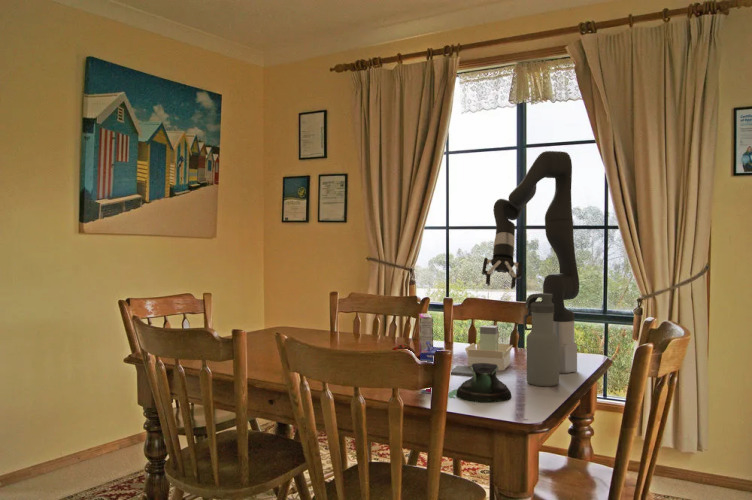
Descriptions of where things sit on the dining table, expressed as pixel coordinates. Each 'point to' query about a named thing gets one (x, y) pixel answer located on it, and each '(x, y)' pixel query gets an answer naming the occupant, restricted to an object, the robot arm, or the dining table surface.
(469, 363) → the cream storage bin
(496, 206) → the robot arm
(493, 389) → the dark green flared pedestal
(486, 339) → the sage box
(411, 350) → the dragon fruit
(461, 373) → the felt mat
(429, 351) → the ink cartridge box
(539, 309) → the water bottle
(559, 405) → the dining table surface
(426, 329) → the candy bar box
